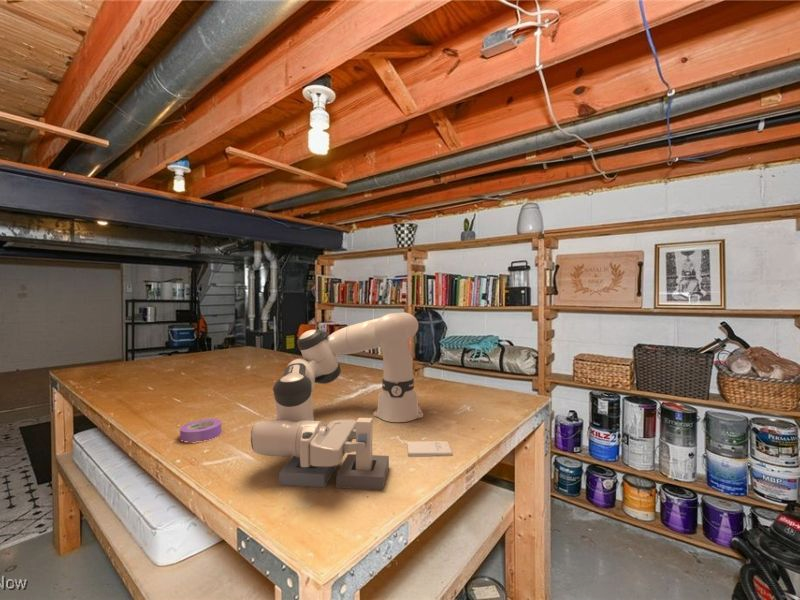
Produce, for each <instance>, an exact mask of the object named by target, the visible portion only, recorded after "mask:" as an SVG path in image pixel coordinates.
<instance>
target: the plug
mask: <svg viewBox="0 0 800 600" xmlns="http://www.w3.org/2000/svg"><path fill="white" fill-rule="evenodd" d="M355 421H356V439H355V442H358V441H365V442H366V448H365V450H364V451H355V455H356V470H365V471H372V455H373V417H358V418H357V419H356V420H355Z"/></svg>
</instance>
